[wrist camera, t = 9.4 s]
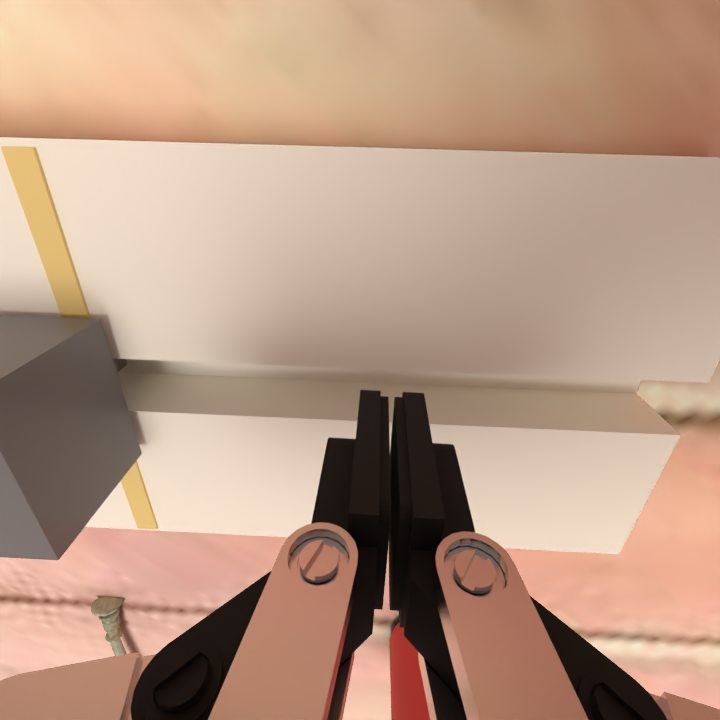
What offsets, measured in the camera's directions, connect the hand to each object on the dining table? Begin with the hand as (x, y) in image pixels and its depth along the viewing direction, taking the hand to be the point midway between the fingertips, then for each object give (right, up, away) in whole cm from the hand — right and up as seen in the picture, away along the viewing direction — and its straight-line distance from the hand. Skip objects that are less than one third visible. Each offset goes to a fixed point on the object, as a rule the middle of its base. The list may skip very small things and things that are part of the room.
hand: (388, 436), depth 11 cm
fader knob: (-10, +2, +4) cm, 11 cm away
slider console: (-3, +3, +5) cm, 7 cm away
